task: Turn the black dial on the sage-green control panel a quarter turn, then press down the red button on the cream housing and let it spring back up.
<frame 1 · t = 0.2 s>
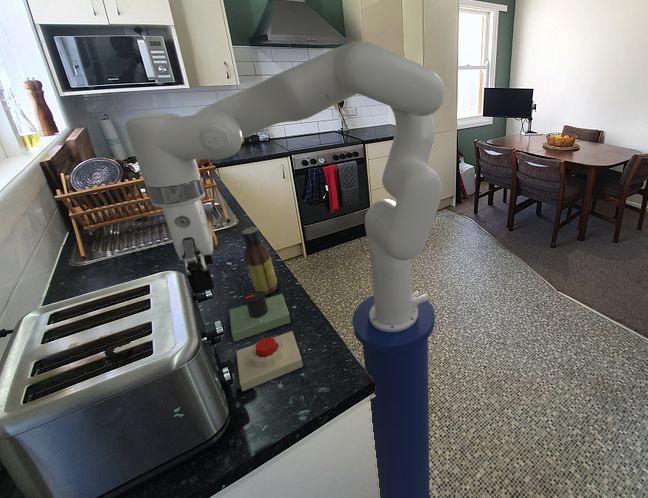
hand: (204, 276, 64), 25 cm above the counter, tool pointing down, fingers open, 9 cm apart
pancake mix bag: (203, 243, 128), on the counter
start button: (266, 346, 75), point 5 cm above the counter, slide at 0.2 cm
button housing: (270, 362, 77), on the counter
dial: (256, 303, 87), point 5 cm above the counter, hinge at 0.0°
lotion bottle: (157, 432, 63), on the counter
sauce bottle: (266, 290, 101), on the counter
dial panel: (260, 319, 89), on the counter
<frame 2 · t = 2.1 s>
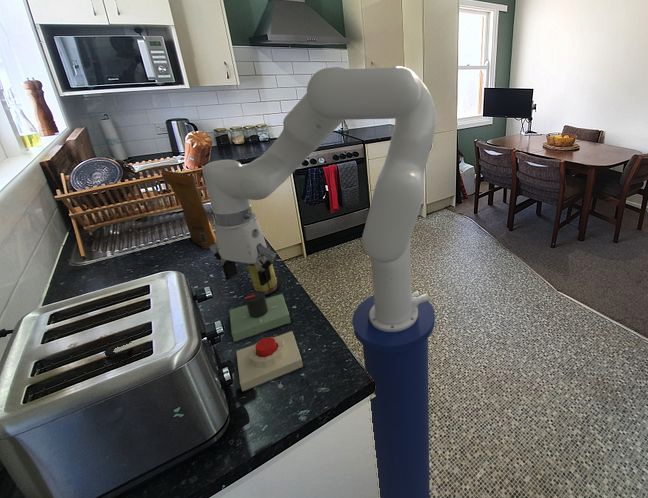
hand: (248, 279, 84), 13 cm above the counter, tool pointing down, fingers open, 9 cm apart
nothing on the counter moved.
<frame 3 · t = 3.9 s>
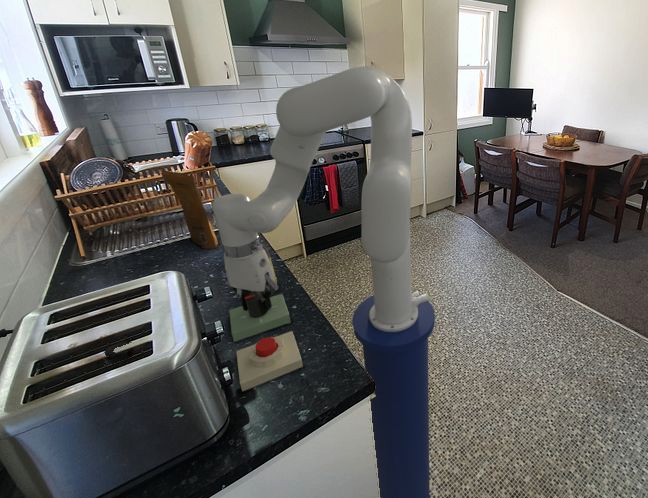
hand: (257, 308, 88), 4 cm above the counter, tool pointing down, fingers closed on dial, 4 cm apart
dial: (256, 303, 87), point 5 cm above the counter, hinge at -0.1°, touching gripper
everything else where it was.
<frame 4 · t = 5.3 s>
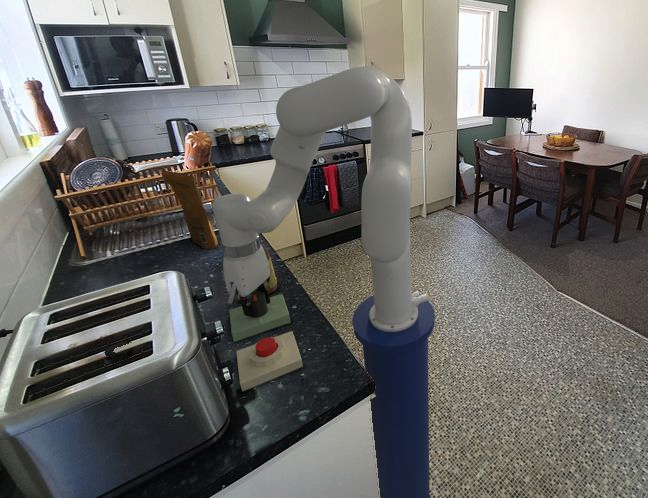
hand: (257, 308, 88), 4 cm above the counter, tool pointing down, fingers closed on dial, 4 cm apart
dial: (256, 303, 87), point 5 cm above the counter, hinge at 90.0°, touching gripper
everything else where it was.
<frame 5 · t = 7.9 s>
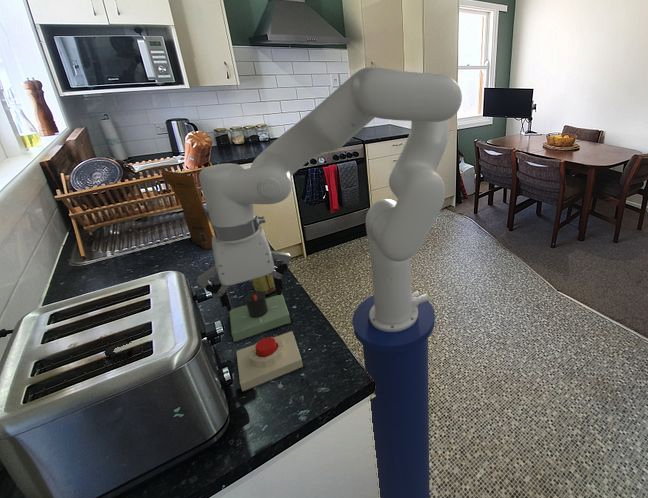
hand: (254, 299, 74), 15 cm above the counter, tool pointing down, fingers open, 9 cm apart
dial: (256, 303, 87), point 5 cm above the counter, hinge at 91.2°
everything else where it was.
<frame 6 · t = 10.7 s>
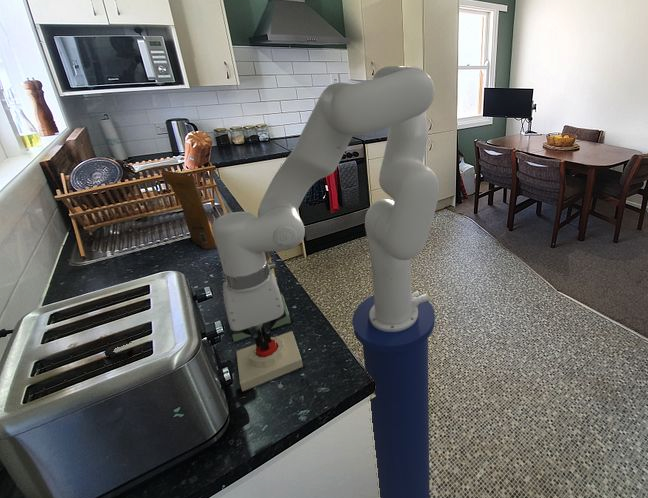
hand: (264, 345, 74), 5 cm above the counter, tool pointing down, fingers closed
start button: (266, 348, 75), point 4 cm above the counter, slide at -0.3 cm, touching gripper
everything else where it was.
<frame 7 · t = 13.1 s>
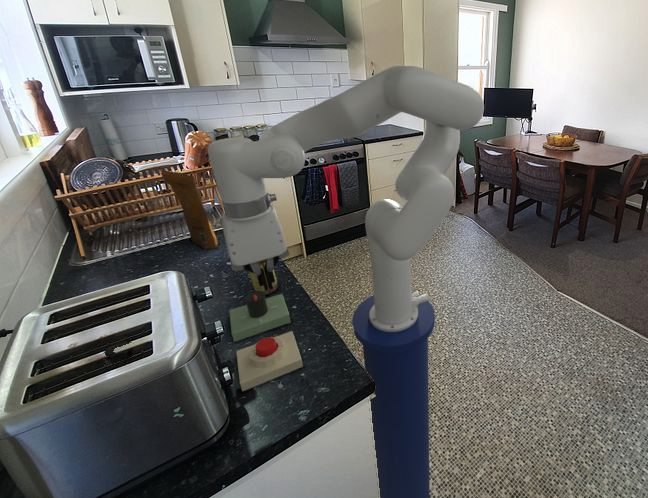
hand: (268, 286, 72), 18 cm above the counter, tool pointing down, fingers closed
start button: (266, 347, 75), point 5 cm above the counter, slide at 0.1 cm
everything else where it was.
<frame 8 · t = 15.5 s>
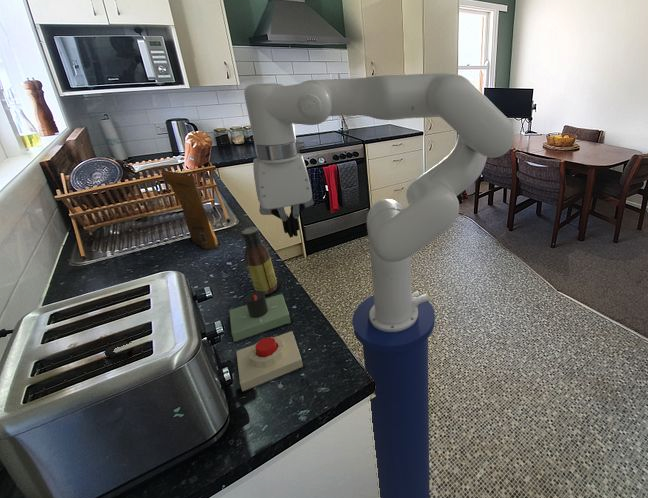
hand: (292, 234, 75), 27 cm above the counter, tool pointing down, fingers closed
nothing on the counter moved.
at the end: dial at +91° (first picture: +0°); start button pushed in 1.1 cm at the most during the clip, back to where it started at the end; start button slide at 0.1 cm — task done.
